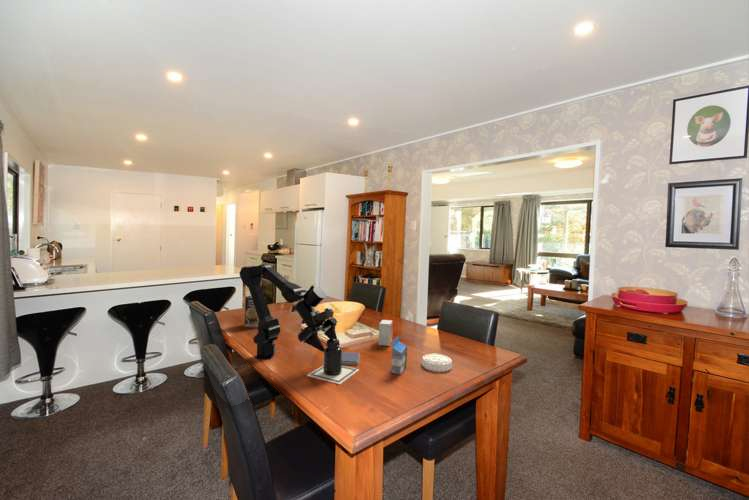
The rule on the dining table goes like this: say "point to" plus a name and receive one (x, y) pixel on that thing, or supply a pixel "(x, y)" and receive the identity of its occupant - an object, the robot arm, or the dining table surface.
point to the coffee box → (250, 313)
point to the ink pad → (350, 358)
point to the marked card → (336, 379)
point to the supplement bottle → (332, 358)
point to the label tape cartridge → (398, 356)
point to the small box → (385, 332)
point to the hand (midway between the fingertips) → (330, 347)
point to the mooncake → (436, 362)
